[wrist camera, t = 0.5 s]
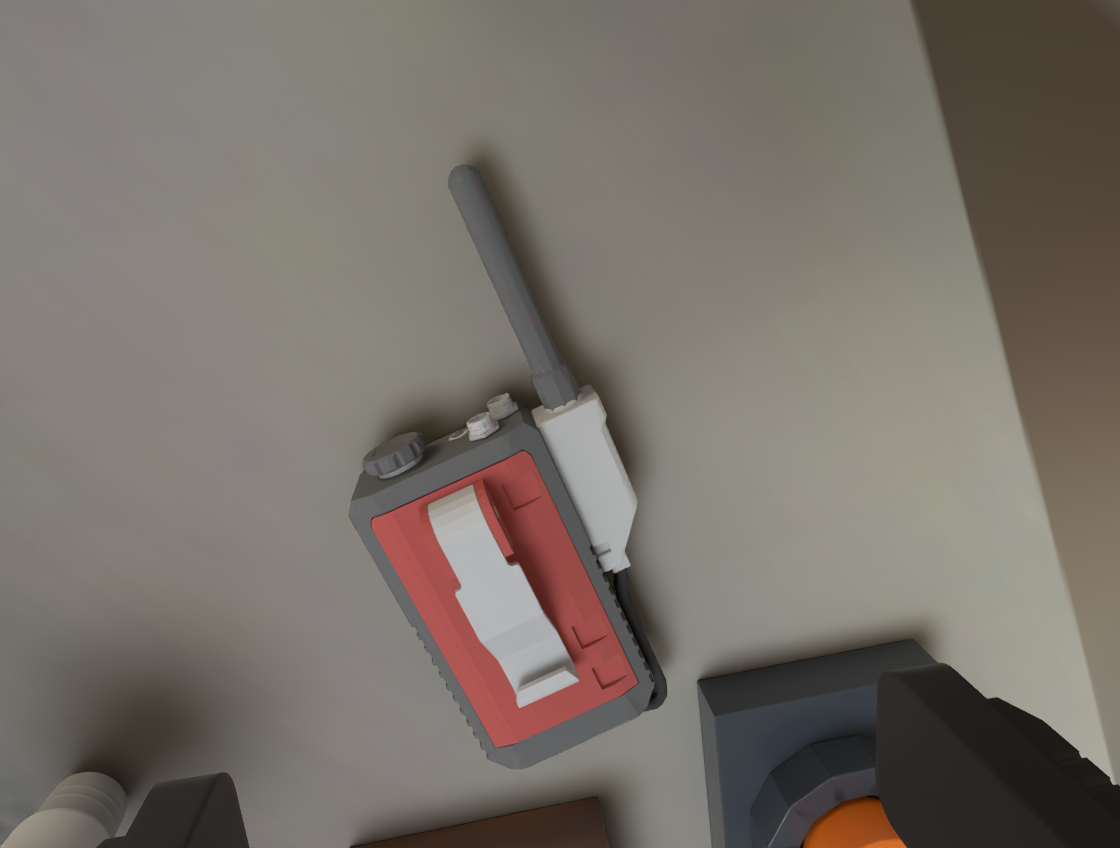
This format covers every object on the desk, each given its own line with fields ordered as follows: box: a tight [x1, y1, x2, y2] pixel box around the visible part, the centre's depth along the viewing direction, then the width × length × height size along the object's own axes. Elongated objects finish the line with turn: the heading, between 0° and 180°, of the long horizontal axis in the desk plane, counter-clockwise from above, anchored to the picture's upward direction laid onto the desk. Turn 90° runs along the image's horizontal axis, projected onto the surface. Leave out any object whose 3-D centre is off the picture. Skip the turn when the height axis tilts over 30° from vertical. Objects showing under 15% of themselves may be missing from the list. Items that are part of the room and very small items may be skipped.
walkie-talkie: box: [349, 164, 667, 769], centre depth 25 cm, size 9×4×20 cm
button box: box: [697, 639, 937, 848], centre depth 30 cm, size 11×9×4 cm
